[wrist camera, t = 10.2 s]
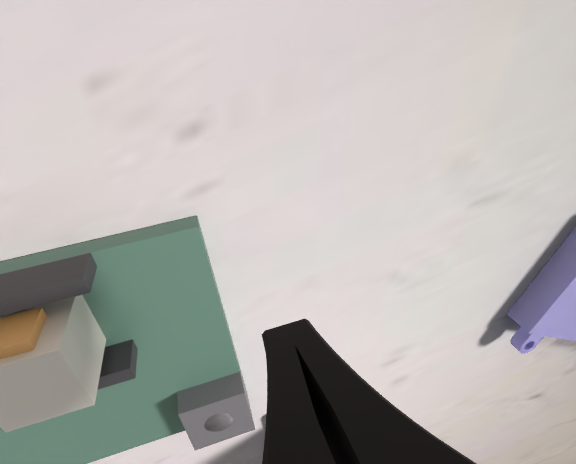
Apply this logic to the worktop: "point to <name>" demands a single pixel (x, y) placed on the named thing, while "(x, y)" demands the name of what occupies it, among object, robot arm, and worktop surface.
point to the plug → (48, 362)
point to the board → (135, 344)
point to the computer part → (548, 301)
